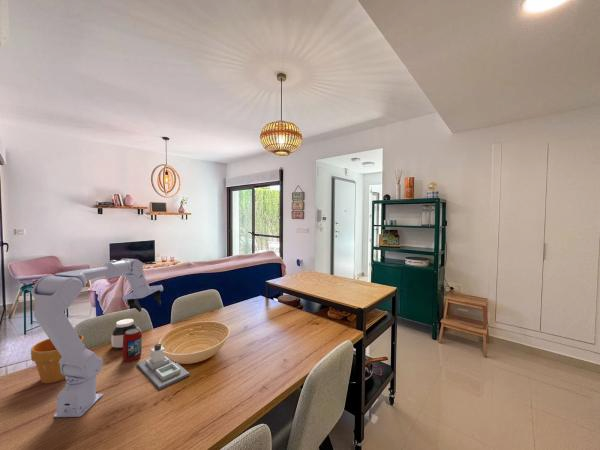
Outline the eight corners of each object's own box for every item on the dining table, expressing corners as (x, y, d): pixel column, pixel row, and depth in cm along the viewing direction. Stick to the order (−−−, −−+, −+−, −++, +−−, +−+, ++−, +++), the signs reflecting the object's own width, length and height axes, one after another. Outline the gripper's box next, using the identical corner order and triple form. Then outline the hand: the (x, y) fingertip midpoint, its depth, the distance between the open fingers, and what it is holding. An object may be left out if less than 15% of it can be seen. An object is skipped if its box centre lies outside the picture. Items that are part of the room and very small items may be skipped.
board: (189, 375, 97) (189, 369, 97) (159, 389, 88) (159, 382, 88) (165, 355, 111) (165, 349, 111) (137, 365, 102) (137, 359, 102)
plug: (164, 362, 103) (165, 345, 103) (154, 367, 100) (154, 348, 100) (160, 359, 105) (160, 341, 105) (150, 363, 102) (150, 345, 102)
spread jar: (110, 352, 111) (111, 326, 111) (111, 342, 121) (112, 318, 120) (142, 345, 119) (143, 321, 118) (140, 336, 128) (141, 313, 127)
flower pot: (34, 373, 95) (34, 340, 95) (83, 361, 104) (83, 330, 104) (26, 394, 84) (27, 356, 84) (82, 378, 93) (82, 344, 93)
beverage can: (131, 363, 103) (132, 335, 103) (118, 361, 105) (119, 333, 104) (145, 355, 110) (145, 328, 110) (132, 353, 111) (132, 326, 111)
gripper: (158, 272, 108) (168, 295, 114) (120, 283, 103) (132, 306, 109) (158, 282, 102) (168, 306, 109) (117, 294, 97) (130, 318, 104)
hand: (150, 307), depth 109 cm, fingers open, 7 cm apart
